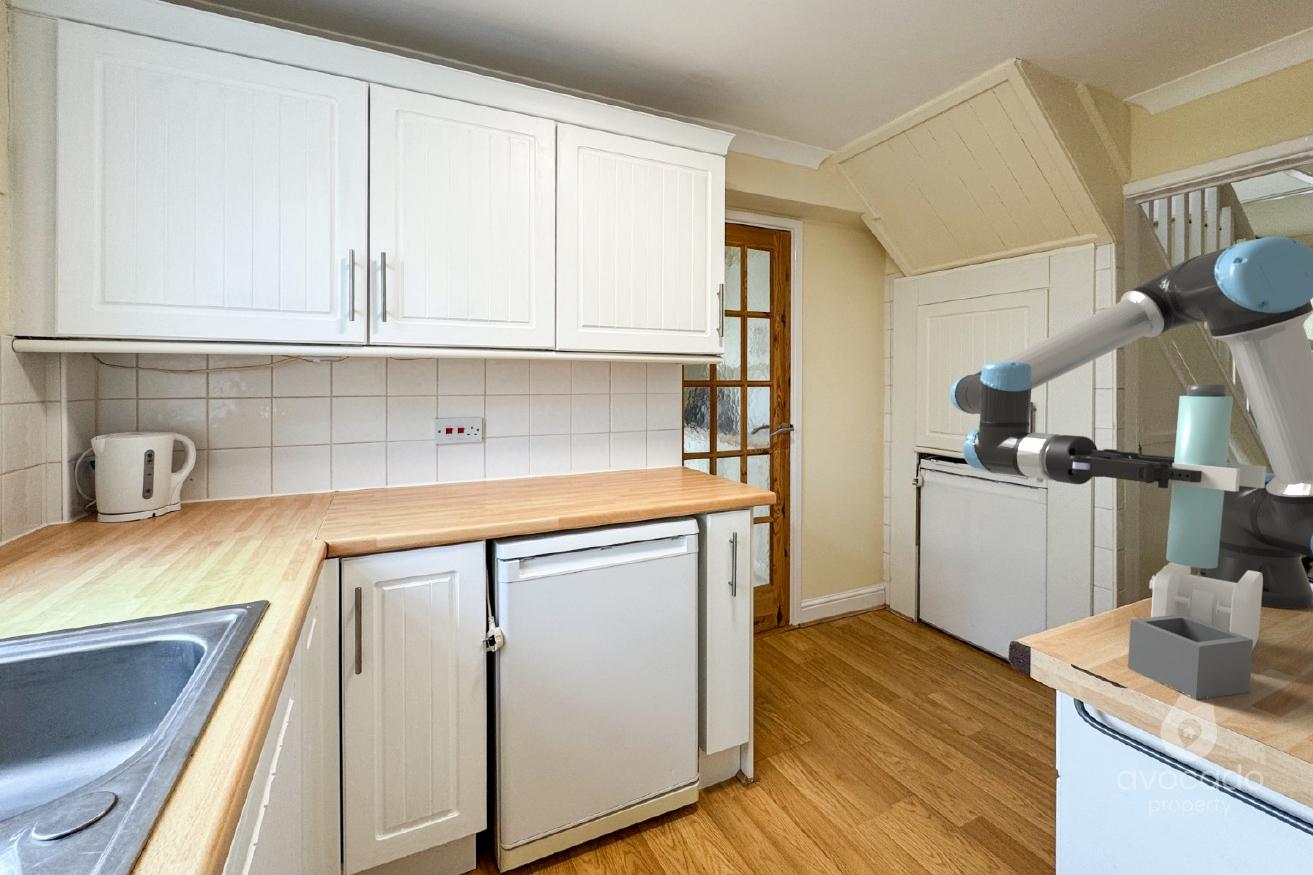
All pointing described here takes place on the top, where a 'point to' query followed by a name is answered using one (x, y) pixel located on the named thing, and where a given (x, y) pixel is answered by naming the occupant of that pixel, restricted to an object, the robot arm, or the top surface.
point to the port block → (1190, 656)
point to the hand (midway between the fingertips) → (1250, 478)
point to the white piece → (1209, 599)
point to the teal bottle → (1199, 507)
